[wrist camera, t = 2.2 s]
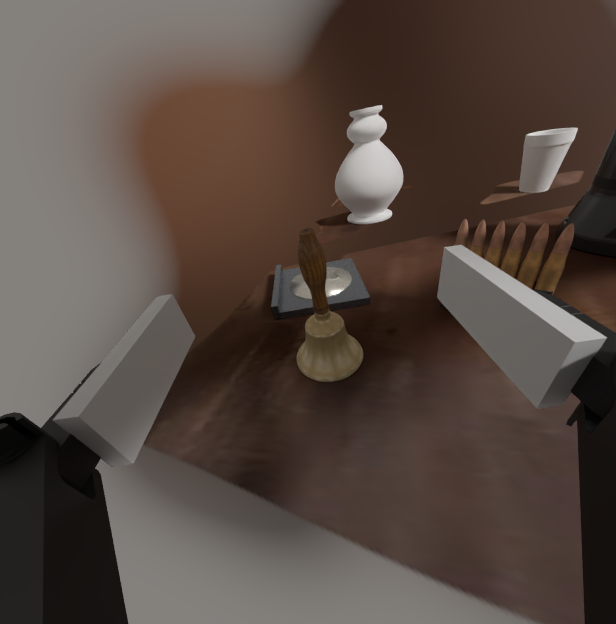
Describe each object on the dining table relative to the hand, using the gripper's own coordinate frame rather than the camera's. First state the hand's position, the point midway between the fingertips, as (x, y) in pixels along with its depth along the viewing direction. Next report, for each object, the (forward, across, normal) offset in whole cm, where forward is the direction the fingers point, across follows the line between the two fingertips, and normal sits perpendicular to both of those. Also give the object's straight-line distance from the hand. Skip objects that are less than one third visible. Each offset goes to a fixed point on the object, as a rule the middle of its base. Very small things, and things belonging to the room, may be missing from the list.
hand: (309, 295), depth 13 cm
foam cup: (+62, +63, -16) cm, 90 cm away
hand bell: (+12, +1, -16) cm, 21 cm away
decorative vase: (+65, +19, -16) cm, 70 cm away
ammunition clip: (+15, +22, -16) cm, 31 cm away
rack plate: (+29, +1, -16) cm, 33 cm away
